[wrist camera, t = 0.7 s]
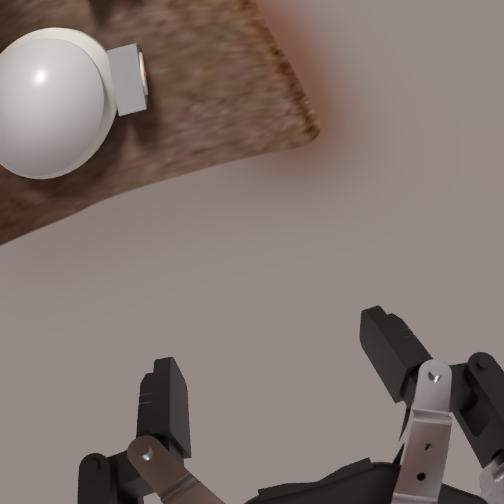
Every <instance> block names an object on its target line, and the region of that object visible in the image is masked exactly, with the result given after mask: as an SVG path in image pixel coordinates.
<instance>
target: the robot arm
mask: <svg viewBox="0 0 504 504" xmlns="http://www.w3.org/2000/svg"><path fill="white" fill-rule="evenodd" d="M360 342H361V345H362V348H363V350H364V351H365V353H366V355H367V356H368V358H369V360H370V361H371V363H372V365H373V366H374V368H375V370H376V371H377V373H378V374H379V376H380V378H381V380H382V381H383V383H384V385H385V387H386V388H387V390H388V392H389V393H390V395H391V397H392V399H393V400H394V402H395V403H398V402H400V401H403V400H404V402H405V403H406V408H405V412H404V416H403V421H402V425H401V429H400V433H399V437H398V441H397V444H396V447H395V450H394V453H393V456H392V458H391V461H390V463H389V462H373V463H371V461H370V459H369V457H368V458H366V459H363V460H360V461H358V462H355V463H352V464H350V465H347V466H344V467H342V468H340V469H339V470H337V471H335V472H334V473H332V474H330V475H328V476H327V477H325V478H323V479H322V480H320V481H317V482H311V483H286V484H282V485H277V486H273V487H268V488H263V489H259V490H258V493H259V495H258V496H256V497H254V498H252V499H250V500H248V501H247V502H246V503H244V504H504V372H503V370H502V369H501V367H500V366H499V365H498V363H497V362H496V361H495V359H494V358H493V357H492V356H491V355H489V354H487V353H484V352H478V353H474V354H473V355H472V356H471V357H470V358H469V360H468V362H467V363H463V364H457V365H448V364H446V363H445V362H443V361H441V360H437V359H433V358H432V357H431V356H430V354H429V353H428V352H427V350H426V349H425V348H424V346H423V345H422V344H421V343H420V341H419V340H418V339H417V338H416V336H415V335H413V332H412V331H411V330H410V329H409V328H408V326H407V325H406V324H405V322H404V321H403V320H402V319H401V318H399V317H397V316H396V315H394V314H388V315H387V314H386V313H385V312H384V311H383V309H382V308H381V307H380V306H375V307H372V308H369V309H365V310H363V311H362V313H361V324H360ZM449 412H453V414H454V416H455V417H456V419H457V421H458V423H459V424H460V426H461V428H462V430H463V432H464V433H465V436H466V437H467V439H468V441H469V443H470V445H471V446H472V449H473V451H474V452H475V454H476V456H477V458H478V460H479V462H480V464H481V466H482V468H483V470H482V472H481V475H480V488H481V496H480V497H479V496H477V495H474V494H471V493H468V492H465V491H462V490H459V489H457V488H454V487H451V486H449V485H446V484H443V483H442V479H443V474H444V469H445V464H446V458H447V453H448V447H449V440H450V433H451V426H452V418H451V417H449ZM184 458H191V445H190V430H189V412H188V392H187V386H186V383H185V380H184V377H183V376H182V374H181V371H180V369H179V367H178V366H177V363H176V361H175V360H174V358H173V357H168V358H163V359H156V360H155V361H154V371H153V373H147V374H146V375H145V377H144V378H143V380H142V382H141V384H140V397H139V407H138V419H137V434H136V439H134V440H133V441H132V442H131V443H130V445H129V447H128V449H127V450H126V451H124V452H121V453H119V454H116V455H113V456H110V457H107V458H106V457H105V456H103V455H102V454H99V453H92V454H89V455H87V456H86V457H84V459H83V460H82V461H81V463H80V466H79V479H78V504H144V502H143V496H146V495H148V494H151V493H154V492H156V493H157V494H158V496H159V497H160V498H161V501H162V503H163V504H225V503H224V502H223V501H222V500H221V499H219V498H218V497H217V496H216V495H215V494H214V493H212V492H211V491H210V490H209V489H208V488H207V487H206V486H204V485H203V484H202V483H201V482H200V481H199V480H198V479H197V478H196V477H194V476H193V475H192V474H191V473H190V472H189V471H188V470H187V469H186V468H185V467H184V460H183V459H184Z"/></svg>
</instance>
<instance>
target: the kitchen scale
mask: <svg viewBox="0 0 504 504" xmlns="http://www.w3.org/2000/svg"><path fill="white" fill-rule="evenodd" d="M146 74H147V72H146V71H145V67H144V61H143V55H142V52H140V48H139V44H138V43H135V44H131V45H127V46H123V47H119V48H115V49H112V50H108V51H107V49H106V48H105V47H104V46H103V45H102V44H101V43H100V42H99V41H98V40H97V39H95V38H94V37H92V36H90V35H88V34H86V33H84V32H82V31H78V30H74V29H66V28H45V29H41V30H37V31H34V32H31V33H29V34H26V35H24V36H22V37H21V38H19V39H17V40H16V41H14V42H13V43H12V44H10V45H9V46H8V47H7V48H6V49H5V50H4V51H3V52H2V53H1V54H0V164H1V165H2V166H3V167H5V168H6V169H8V170H9V171H11V172H13V173H15V174H17V175H20V176H23V177H27V178H32V179H49V178H55V177H58V176H62V175H64V174H67V173H69V172H71V171H73V170H75V169H77V168H78V167H80V166H81V165H82V164H84V163H85V162H86V161H87V160H88V159H89V158H90V157H92V156H93V154H94V153H95V152H96V151H97V150H98V149H99V147H100V146H101V144H102V143H103V141H104V140H105V138H106V136H107V134H108V132H109V130H110V128H111V125H112V123H113V121H114V118H115V116H116V113H117V109H118V113H119V116H122V115H125V114H129V113H133V112H137V111H141V110H145V109H147V95H148V87H147V80H146Z"/></svg>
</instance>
